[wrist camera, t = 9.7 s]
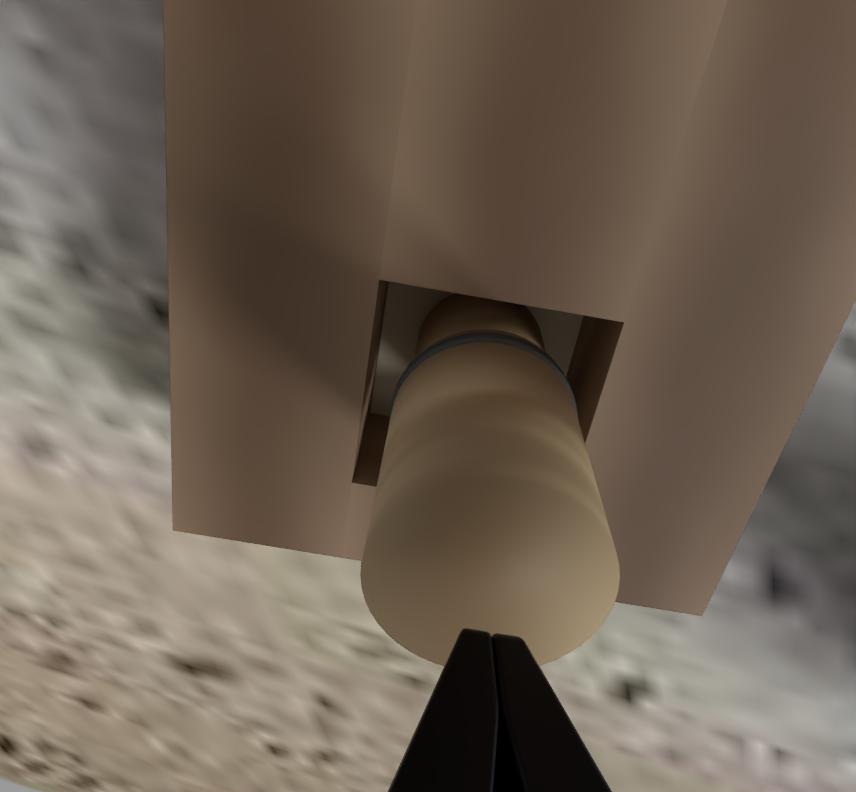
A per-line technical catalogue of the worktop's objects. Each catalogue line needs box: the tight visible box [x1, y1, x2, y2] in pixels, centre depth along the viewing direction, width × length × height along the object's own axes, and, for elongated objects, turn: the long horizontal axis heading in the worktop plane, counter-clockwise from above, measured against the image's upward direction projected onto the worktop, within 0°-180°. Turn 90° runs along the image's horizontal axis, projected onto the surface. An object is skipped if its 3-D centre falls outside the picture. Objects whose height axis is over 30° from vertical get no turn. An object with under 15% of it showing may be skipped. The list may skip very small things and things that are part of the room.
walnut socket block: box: [163, 0, 856, 616], centre depth 15 cm, size 14×20×4 cm
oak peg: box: [361, 293, 620, 666], centre depth 15 cm, size 4×4×9 cm
